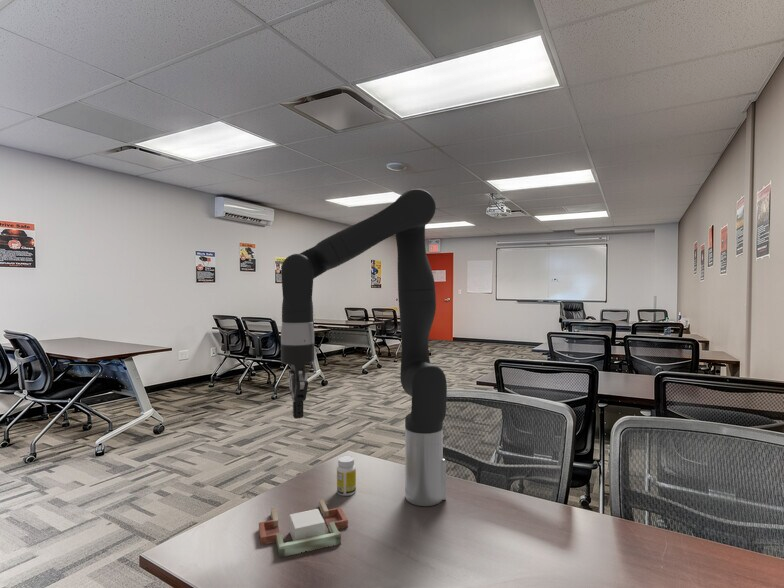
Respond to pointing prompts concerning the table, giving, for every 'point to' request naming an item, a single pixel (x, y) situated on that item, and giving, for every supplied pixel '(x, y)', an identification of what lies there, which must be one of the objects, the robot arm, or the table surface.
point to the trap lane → (334, 521)
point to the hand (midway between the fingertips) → (298, 417)
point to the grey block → (306, 524)
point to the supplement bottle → (346, 476)
